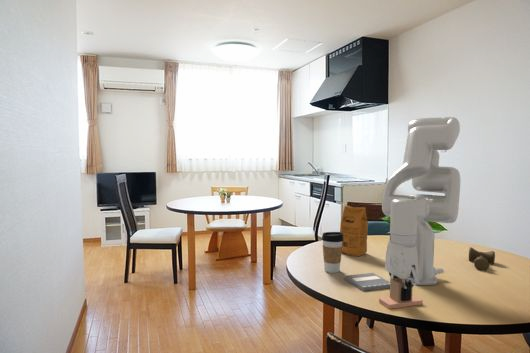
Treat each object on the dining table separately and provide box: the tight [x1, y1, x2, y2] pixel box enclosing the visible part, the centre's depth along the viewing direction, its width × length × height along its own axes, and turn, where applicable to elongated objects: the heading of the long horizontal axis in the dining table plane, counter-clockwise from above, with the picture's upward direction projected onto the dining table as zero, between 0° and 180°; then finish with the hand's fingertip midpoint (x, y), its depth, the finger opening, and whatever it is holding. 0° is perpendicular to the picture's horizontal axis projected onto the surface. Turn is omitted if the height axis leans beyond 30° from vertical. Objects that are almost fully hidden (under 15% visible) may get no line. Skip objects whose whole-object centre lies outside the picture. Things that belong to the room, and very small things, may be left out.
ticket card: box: [344, 272, 390, 292], centre depth 126 cm, size 12×12×1 cm
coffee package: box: [339, 204, 369, 257], centre depth 164 cm, size 10×12×22 cm
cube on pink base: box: [378, 278, 424, 309], centre depth 109 cm, size 12×5×7 cm, turn 107°
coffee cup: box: [321, 231, 344, 274], centre depth 139 cm, size 8×8×15 cm
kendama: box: [468, 247, 496, 272], centre depth 149 cm, size 6×10×20 cm
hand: (400, 296), depth 109 cm, fingers closed on cube on pink base, 4 cm apart
